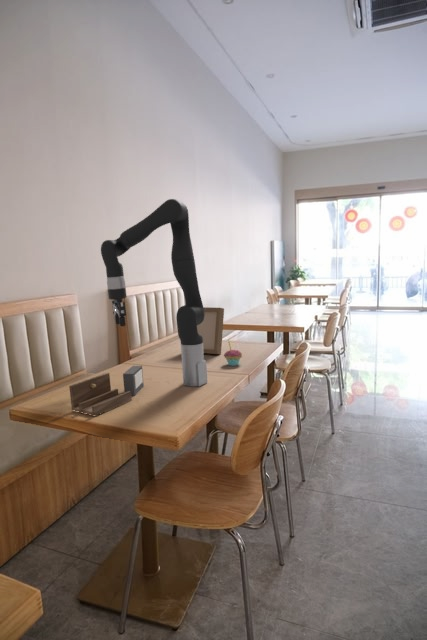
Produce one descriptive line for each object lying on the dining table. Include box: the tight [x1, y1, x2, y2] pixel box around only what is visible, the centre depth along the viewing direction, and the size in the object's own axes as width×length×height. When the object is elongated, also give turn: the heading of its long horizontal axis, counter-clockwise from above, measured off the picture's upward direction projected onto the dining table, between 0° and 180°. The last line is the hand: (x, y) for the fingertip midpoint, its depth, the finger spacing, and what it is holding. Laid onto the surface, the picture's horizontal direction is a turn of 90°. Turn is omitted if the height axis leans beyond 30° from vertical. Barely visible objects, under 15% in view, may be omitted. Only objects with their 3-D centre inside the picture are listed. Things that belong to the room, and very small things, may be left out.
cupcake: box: [223, 340, 243, 367], centre depth 203 cm, size 9×8×12 cm
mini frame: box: [122, 365, 145, 397], centre depth 170 cm, size 4×12×9 cm, turn 173°
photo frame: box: [197, 306, 225, 355], centre depth 233 cm, size 15×22×25 cm
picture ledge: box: [68, 372, 133, 416], centre depth 154 cm, size 12×18×10 cm, turn 148°
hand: (120, 325), depth 182 cm, fingers open, 8 cm apart
